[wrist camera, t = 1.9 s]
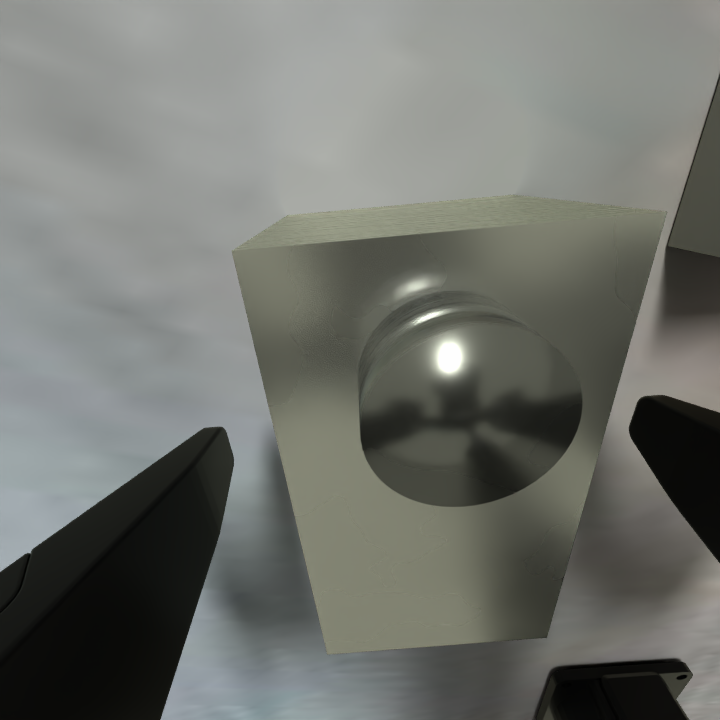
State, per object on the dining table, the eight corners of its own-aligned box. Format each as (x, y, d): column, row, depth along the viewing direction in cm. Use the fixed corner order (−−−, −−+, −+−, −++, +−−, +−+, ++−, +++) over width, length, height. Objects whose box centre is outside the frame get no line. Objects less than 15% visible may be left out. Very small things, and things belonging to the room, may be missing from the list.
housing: (481, 486, 12) (576, 707, 7) (334, 498, 12) (323, 725, 7) (509, 194, 8) (779, 223, 3) (288, 214, 8) (192, 276, 3)
